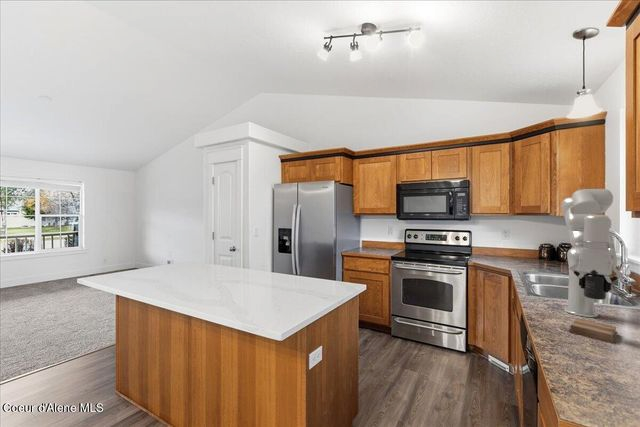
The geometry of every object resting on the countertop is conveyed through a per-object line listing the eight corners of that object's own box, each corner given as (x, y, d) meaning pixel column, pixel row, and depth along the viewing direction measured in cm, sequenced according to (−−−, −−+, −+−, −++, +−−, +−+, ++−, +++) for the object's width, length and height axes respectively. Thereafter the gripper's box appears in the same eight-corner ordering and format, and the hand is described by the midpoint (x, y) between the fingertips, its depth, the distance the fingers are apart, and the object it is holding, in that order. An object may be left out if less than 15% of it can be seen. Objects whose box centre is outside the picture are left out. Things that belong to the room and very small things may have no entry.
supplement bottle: (610, 300, 117) (611, 270, 117) (590, 299, 118) (591, 269, 118) (598, 295, 124) (599, 266, 123) (579, 294, 125) (579, 265, 125)
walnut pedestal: (575, 324, 131) (575, 317, 130) (617, 334, 121) (617, 327, 121) (568, 332, 122) (569, 324, 122) (613, 343, 112) (613, 335, 112)
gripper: (627, 247, 116) (626, 293, 117) (570, 243, 130) (569, 284, 130) (625, 249, 111) (623, 296, 112) (566, 244, 125) (564, 286, 125)
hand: (594, 289), depth 121 cm, fingers closed on supplement bottle, 6 cm apart
